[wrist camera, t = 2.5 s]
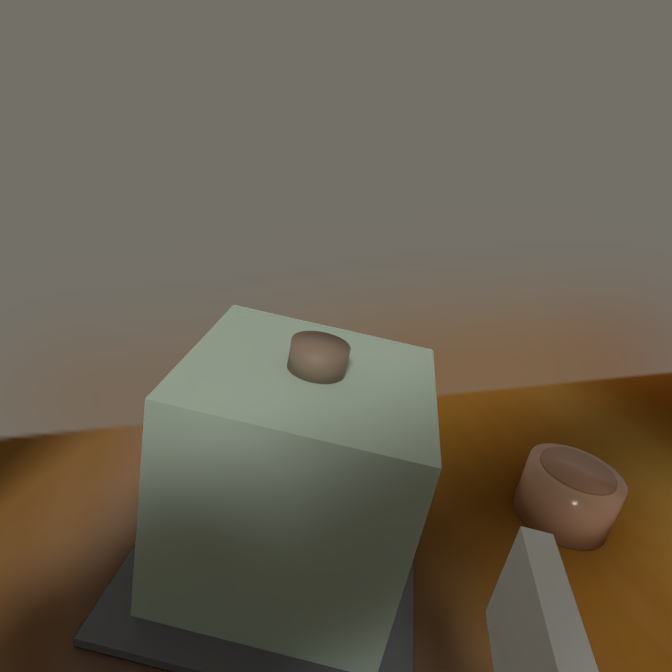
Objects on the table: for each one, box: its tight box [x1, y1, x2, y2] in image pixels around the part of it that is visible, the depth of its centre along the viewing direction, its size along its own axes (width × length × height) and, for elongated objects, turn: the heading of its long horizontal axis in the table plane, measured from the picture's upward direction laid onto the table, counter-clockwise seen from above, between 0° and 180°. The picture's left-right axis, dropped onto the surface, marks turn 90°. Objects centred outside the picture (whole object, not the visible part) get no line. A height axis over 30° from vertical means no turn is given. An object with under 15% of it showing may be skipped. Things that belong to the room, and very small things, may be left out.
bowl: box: [512, 443, 628, 551], centre depth 34 cm, size 6×6×4 cm
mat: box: [74, 545, 414, 672], centre depth 27 cm, size 13×13×1 cm
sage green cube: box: [130, 305, 442, 672], centre depth 25 cm, size 10×10×11 cm
